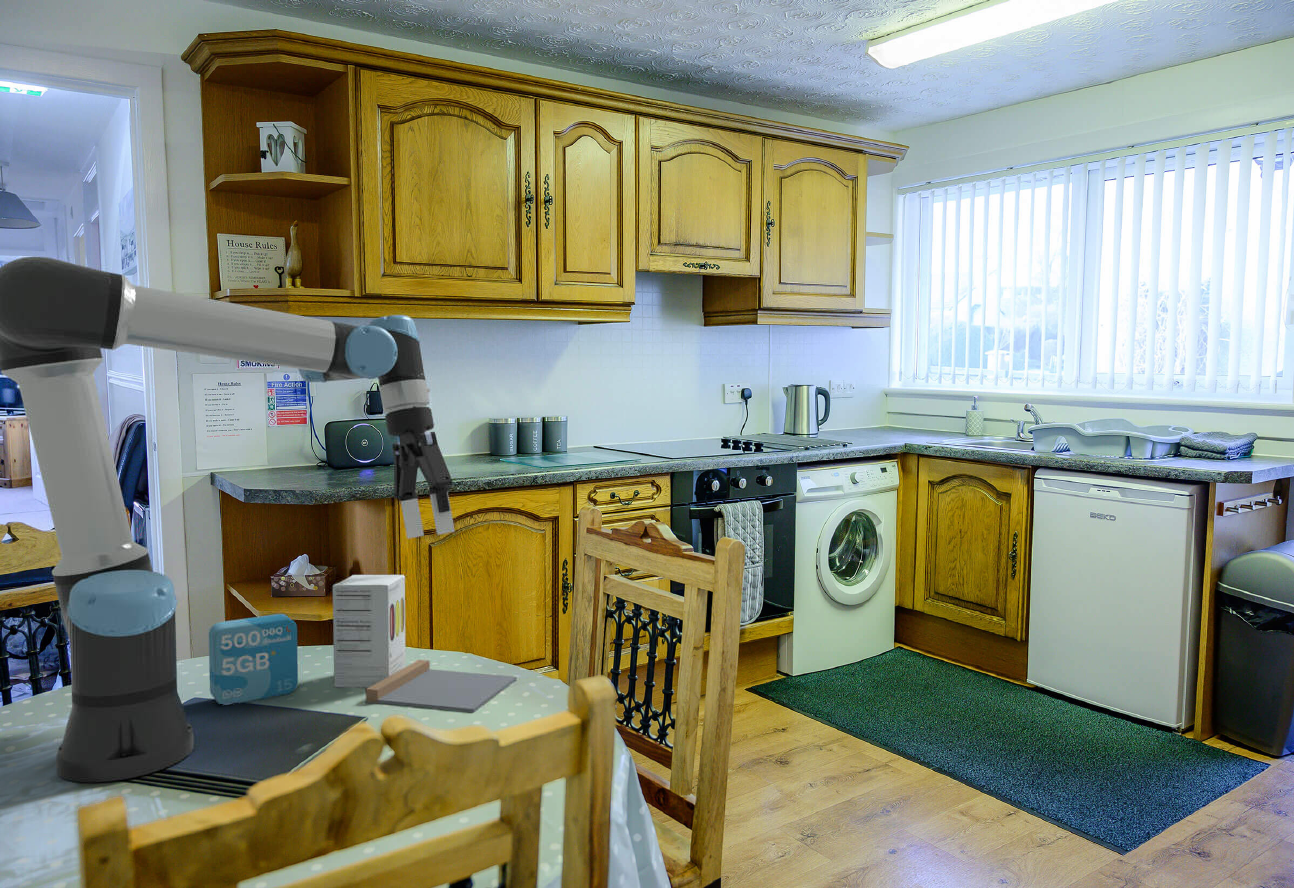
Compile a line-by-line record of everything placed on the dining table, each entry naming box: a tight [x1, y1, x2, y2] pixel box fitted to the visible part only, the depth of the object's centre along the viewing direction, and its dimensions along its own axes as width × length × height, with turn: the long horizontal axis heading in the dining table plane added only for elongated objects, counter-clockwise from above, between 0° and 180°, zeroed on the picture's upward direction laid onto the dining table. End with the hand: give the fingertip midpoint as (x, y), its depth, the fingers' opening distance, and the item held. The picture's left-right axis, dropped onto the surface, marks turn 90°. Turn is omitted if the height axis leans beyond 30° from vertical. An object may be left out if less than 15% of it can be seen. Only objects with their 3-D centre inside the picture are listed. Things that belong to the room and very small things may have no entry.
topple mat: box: [365, 659, 517, 713], centre depth 140 cm, size 18×16×2 cm
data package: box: [208, 613, 299, 705], centre depth 137 cm, size 12×4×12 cm, turn 127°
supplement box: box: [332, 574, 407, 689], centre depth 145 cm, size 10×9×17 cm
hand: (430, 535), depth 145 cm, fingers open, 13 cm apart
